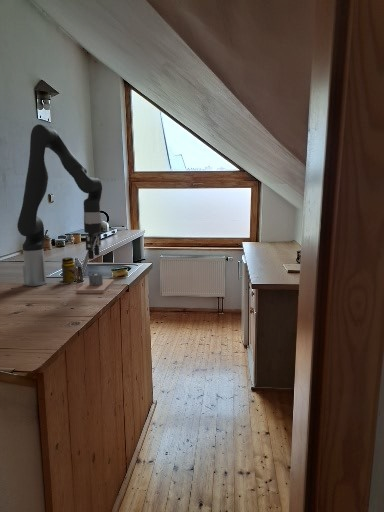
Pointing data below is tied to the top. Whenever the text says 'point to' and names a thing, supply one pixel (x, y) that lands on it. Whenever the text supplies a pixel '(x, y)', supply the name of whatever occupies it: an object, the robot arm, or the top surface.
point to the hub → (95, 279)
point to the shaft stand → (96, 287)
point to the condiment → (68, 271)
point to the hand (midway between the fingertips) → (94, 257)
